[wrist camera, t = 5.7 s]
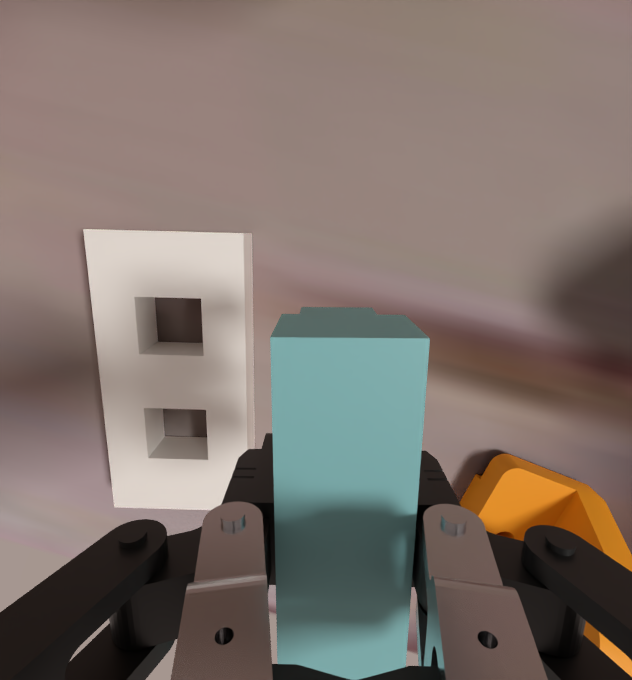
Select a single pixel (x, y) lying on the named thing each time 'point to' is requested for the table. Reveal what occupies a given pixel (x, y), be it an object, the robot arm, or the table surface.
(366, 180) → the table surface
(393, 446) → the teal block
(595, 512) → the bracket
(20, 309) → the table surface
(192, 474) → the white slotted board
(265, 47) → the table surface
